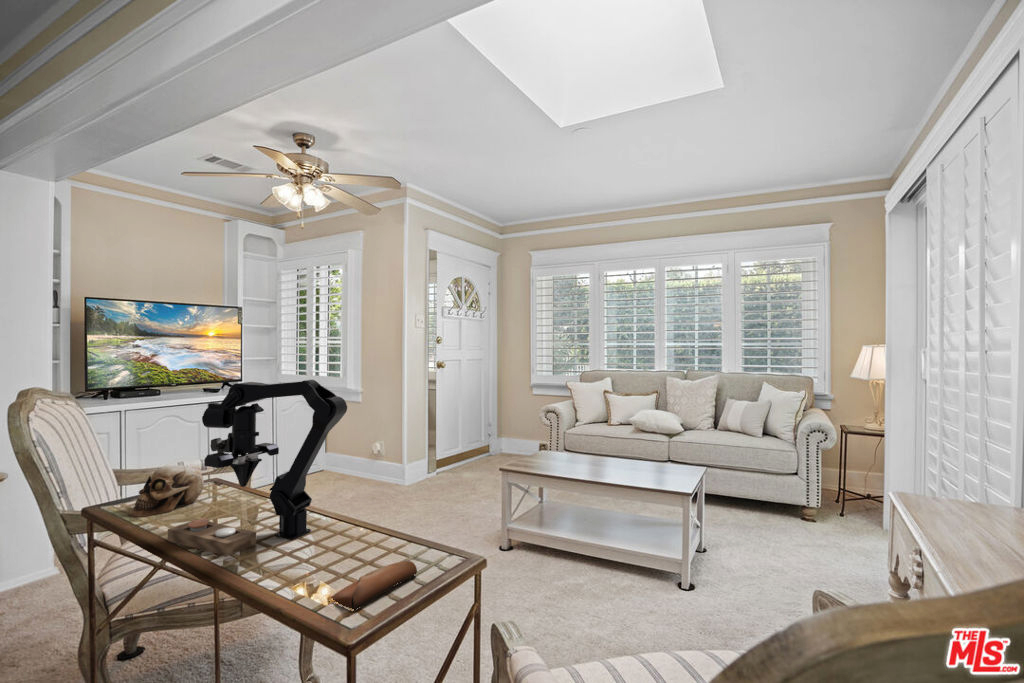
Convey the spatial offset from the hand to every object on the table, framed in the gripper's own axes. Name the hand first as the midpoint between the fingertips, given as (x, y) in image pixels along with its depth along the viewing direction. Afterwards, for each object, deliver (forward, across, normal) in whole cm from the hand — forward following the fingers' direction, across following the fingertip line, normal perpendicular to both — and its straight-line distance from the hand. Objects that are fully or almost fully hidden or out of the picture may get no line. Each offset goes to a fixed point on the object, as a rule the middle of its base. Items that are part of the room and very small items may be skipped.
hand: (243, 486), depth 136 cm
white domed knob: (+12, +9, +5) cm, 16 cm away
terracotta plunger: (+11, +9, -5) cm, 15 cm away
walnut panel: (+12, +9, 0) cm, 15 cm away
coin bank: (+12, -4, -38) cm, 40 cm away
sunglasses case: (+13, +11, +53) cm, 55 cm away
